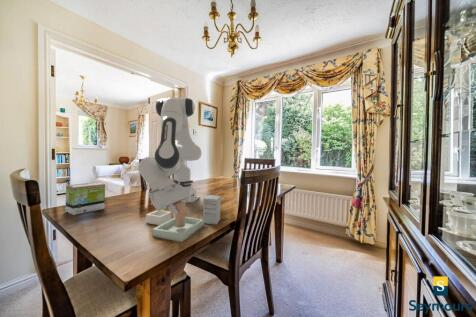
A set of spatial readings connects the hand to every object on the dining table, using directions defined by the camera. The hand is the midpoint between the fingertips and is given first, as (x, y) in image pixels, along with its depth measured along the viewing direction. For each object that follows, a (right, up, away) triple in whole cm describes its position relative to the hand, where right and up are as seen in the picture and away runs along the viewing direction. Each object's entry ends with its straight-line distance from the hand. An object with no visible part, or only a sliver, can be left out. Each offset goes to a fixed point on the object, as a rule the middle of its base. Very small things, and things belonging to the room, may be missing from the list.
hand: (181, 211), depth 88 cm
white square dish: (-14, -8, +11) cm, 20 cm away
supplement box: (+11, -9, +13) cm, 20 cm away
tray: (-1, -9, 0) cm, 9 cm away
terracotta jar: (-1, -6, 0) cm, 6 cm away
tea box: (-60, -6, +23) cm, 64 cm away
